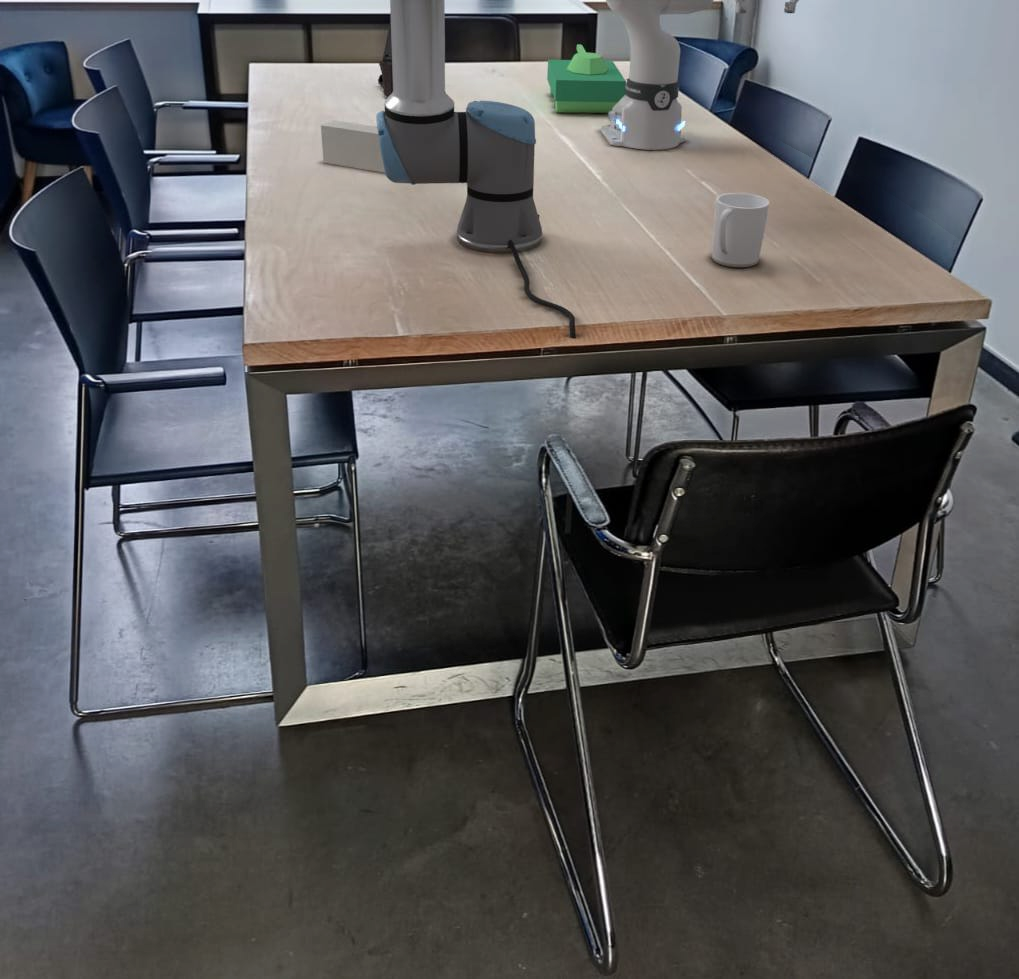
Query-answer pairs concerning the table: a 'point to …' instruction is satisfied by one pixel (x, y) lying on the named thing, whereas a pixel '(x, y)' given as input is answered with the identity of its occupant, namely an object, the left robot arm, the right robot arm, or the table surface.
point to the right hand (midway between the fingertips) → (764, 12)
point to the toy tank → (585, 83)
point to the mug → (739, 229)
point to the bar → (351, 145)
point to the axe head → (385, 78)
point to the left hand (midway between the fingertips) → (416, 94)
